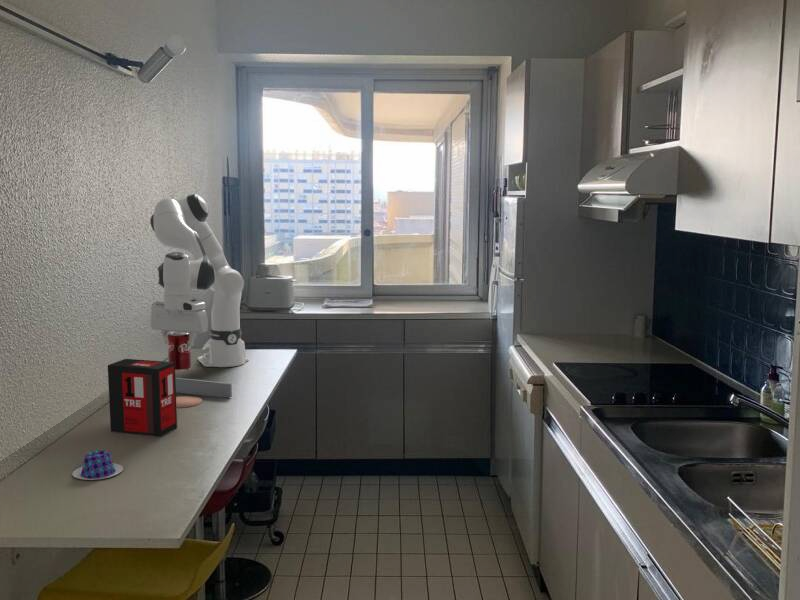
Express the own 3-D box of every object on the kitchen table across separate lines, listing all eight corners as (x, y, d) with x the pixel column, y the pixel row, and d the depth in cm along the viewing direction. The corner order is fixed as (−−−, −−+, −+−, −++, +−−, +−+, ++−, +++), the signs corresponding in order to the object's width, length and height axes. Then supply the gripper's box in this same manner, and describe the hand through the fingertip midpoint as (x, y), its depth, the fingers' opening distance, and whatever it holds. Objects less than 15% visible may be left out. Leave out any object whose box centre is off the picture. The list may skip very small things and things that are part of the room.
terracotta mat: (155, 401, 270) (155, 400, 270) (193, 395, 278) (193, 394, 278) (169, 410, 260) (169, 409, 260) (208, 403, 267) (208, 402, 267)
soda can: (194, 366, 270) (193, 331, 269) (187, 371, 263) (186, 335, 261) (172, 366, 271) (171, 330, 269) (165, 371, 264) (164, 335, 262)
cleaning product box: (110, 431, 237) (107, 365, 234) (128, 423, 246) (125, 358, 243) (160, 436, 233) (158, 369, 230) (177, 427, 241) (174, 362, 238)
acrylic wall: (170, 391, 282) (169, 377, 282) (172, 390, 283) (171, 377, 282) (230, 398, 274) (229, 383, 273) (231, 397, 275) (231, 383, 274)
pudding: (107, 462, 213) (106, 442, 212) (132, 473, 205) (131, 453, 204) (63, 474, 204) (62, 454, 203) (87, 486, 196) (86, 465, 195)
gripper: (145, 302, 264) (146, 343, 266) (198, 306, 257) (200, 348, 259) (157, 299, 270) (158, 340, 272) (210, 303, 263) (211, 345, 265)
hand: (179, 344), depth 266 cm, fingers closed on soda can, 7 cm apart
